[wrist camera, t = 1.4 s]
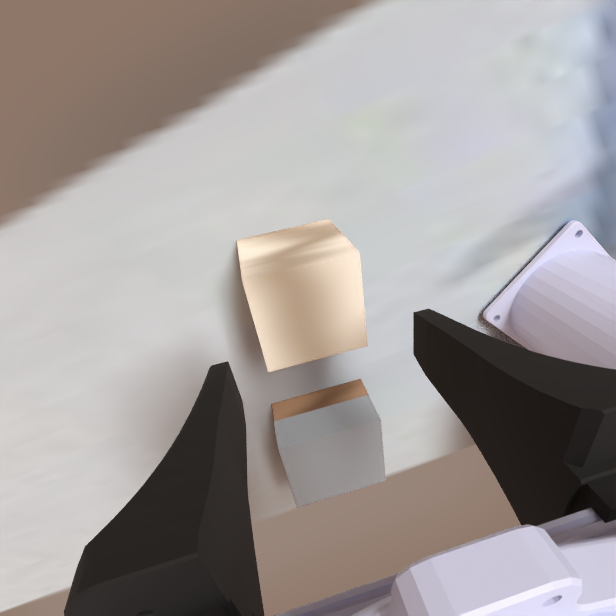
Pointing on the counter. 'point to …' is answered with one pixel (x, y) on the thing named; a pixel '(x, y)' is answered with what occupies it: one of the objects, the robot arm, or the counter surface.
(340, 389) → the tower base block
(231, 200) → the counter surface
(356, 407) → the tower top block
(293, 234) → the ash cube
